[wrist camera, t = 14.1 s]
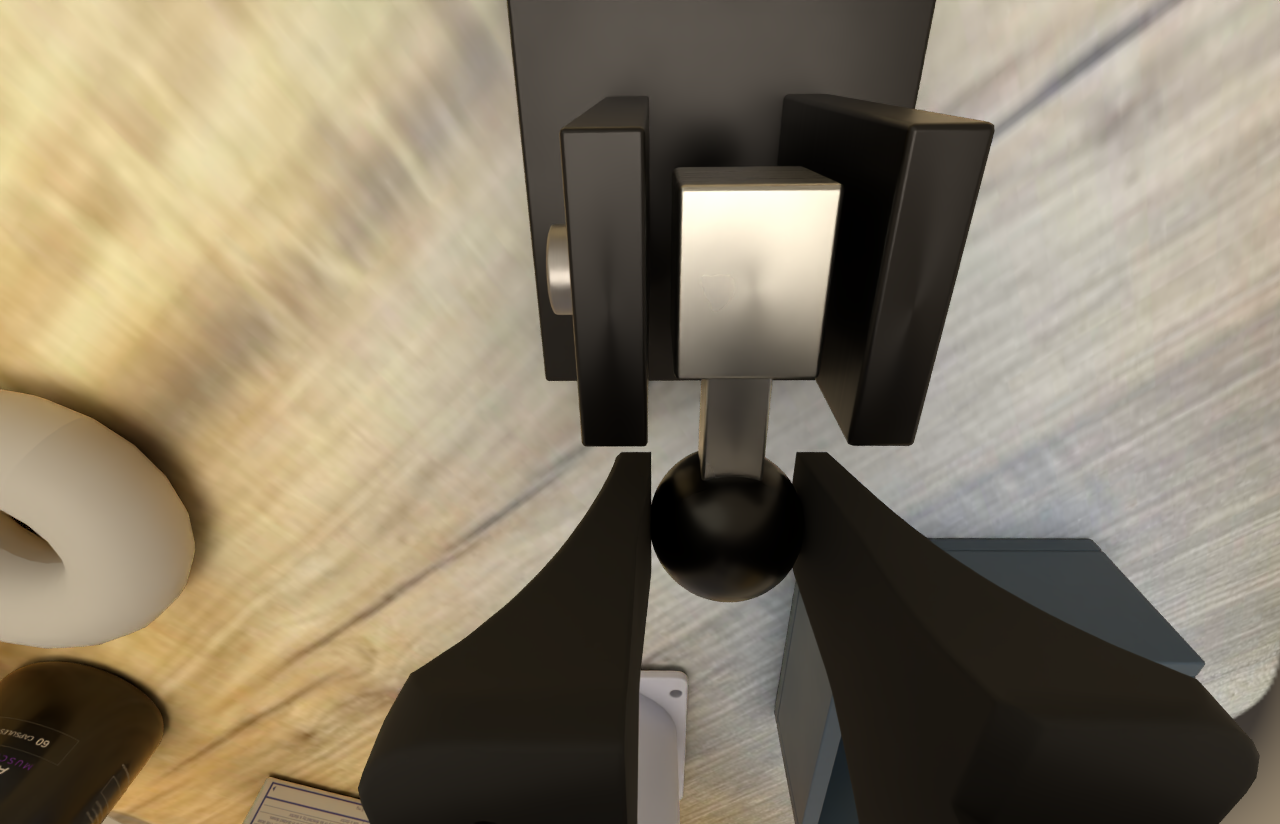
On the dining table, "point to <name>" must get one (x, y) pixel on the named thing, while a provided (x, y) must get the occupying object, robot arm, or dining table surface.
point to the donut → (82, 529)
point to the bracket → (738, 137)
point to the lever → (742, 366)
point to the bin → (1028, 568)
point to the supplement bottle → (70, 742)
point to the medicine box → (303, 806)
